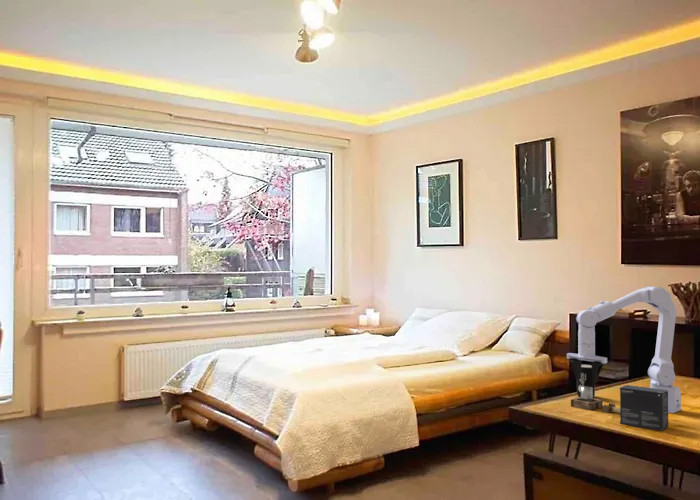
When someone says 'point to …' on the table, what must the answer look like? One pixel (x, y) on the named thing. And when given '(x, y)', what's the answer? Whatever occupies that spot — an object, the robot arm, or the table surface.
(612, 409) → the lock pin
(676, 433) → the table surface
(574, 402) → the dock mount
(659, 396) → the small box
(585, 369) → the beverage can
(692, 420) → the table surface
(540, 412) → the table surface
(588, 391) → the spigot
